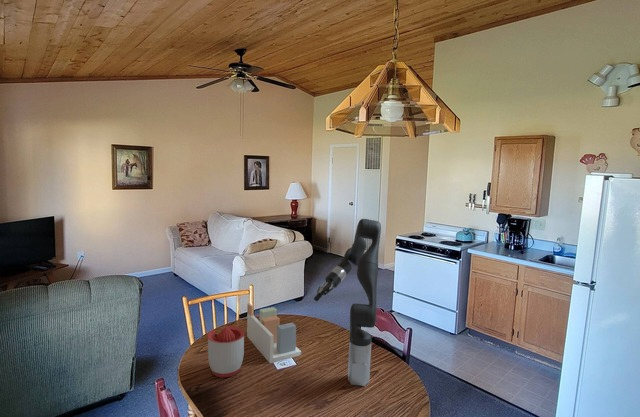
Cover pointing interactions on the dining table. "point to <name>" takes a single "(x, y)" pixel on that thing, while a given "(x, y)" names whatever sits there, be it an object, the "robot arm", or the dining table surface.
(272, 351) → the rack
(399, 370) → the dining table surface
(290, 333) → the slate block
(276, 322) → the terracotta block
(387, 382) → the dining table surface
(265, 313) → the sage block
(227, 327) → the citrus juicer
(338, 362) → the dining table surface
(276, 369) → the dining table surface
